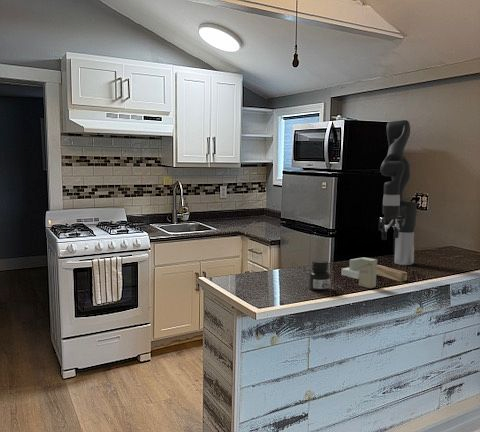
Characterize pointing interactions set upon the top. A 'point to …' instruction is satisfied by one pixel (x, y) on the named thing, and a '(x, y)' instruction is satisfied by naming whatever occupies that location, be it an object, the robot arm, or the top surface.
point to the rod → (391, 273)
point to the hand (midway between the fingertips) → (390, 238)
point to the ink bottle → (319, 276)
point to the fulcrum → (352, 269)
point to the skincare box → (367, 272)
